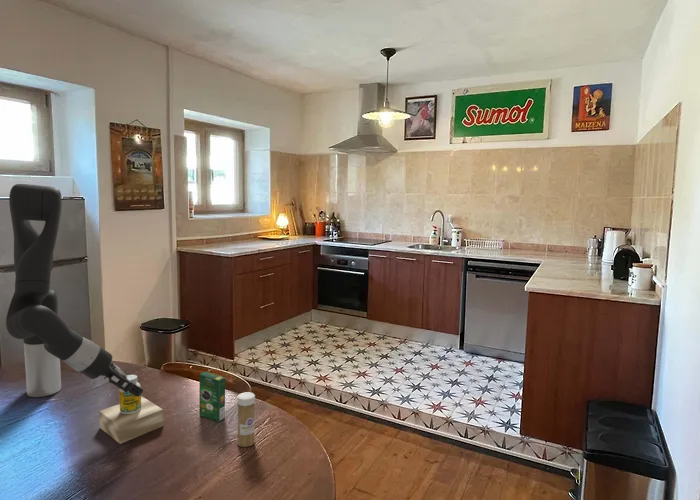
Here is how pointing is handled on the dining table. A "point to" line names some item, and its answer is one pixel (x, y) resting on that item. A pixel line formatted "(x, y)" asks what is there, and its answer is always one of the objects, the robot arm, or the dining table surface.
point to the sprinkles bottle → (246, 419)
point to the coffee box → (212, 396)
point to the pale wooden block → (131, 421)
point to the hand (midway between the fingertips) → (135, 387)
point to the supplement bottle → (129, 398)
